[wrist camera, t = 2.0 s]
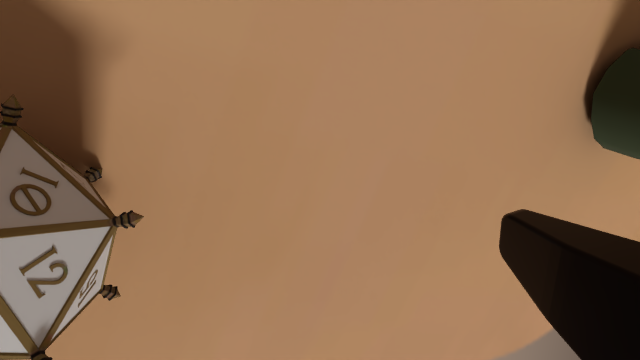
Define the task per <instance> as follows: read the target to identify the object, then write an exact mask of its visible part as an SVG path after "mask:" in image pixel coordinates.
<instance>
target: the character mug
mask: <svg viewBox="0 0 640 360" xmlns="http://www.w3.org/2000/svg"><path fill="white" fill-rule="evenodd" d="M591 122H592V128H593V134H594V139H595V140H596V141H597V142H598V143H599V144H600V145H601V146H602V147H603V148H605V149H608V150H611V151H615V152H618V153H621V154H624V155H627V156H630V157H633V158H636V159H640V50H639V49H635V48H631V49H629V50H627V51H626V52H625V53H624V54H622V55H621V56H620V57H619V58H618V59H617V60H616V61H615V62H614V63H613V64H612V65H611V66H610V67H609V68H608V69H607V71H606V73H605V74H604V76H603V78H602V79H601V81H600V83H599V85H598V86H597V88H596V90H595V92H594V93H593V103H592V114H591Z"/></svg>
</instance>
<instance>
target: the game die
mask: <svg viewBox="0 0 640 360" xmlns="http://www.w3.org/2000/svg"><path fill="white" fill-rule="evenodd" d="M1 106H2V108H3V110H2V111H1V115H2V116H3V121H2V123H0V360H7V359H31V360H52V357H48V356H47V355H45V350H46V349H47V348H48V347H49V346H50V345H51V344H52V343H53V342H54V341H55V339H56V338H57V337H58V336H59V335H60V334H61V333H62V332H63V331H64V330H65V329H66V328H67V327H68V326H69V325H70V324H71V322H72V321H73V320H74V319H75V318H76V317H77V316H78V315H79V314H80V313H81V312H82V311H83V310H84V309H85V308H86V307H87V306H88V304H89V303H90V302H91V301H92V300H93V299H94V298H95V297H96V296H97V295H98V294H102V296H103V298H108V300H109V301H110V300H111V299H113V298H117V297H120V294H119V292H118V290H117V286H116V287H112V285H104V281H105V276H106V272H107V268H108V264H109V260H110V255H111V251H112V247H113V243H114V239H115V234H116V230H117V227H124V228H126V229H127V228H128V227H130V226H132V227H133V228H134V227H135V225H136V224H137V223H138V222H139V221H140V220H141V219H142V218H143V217H144V216H142V215H139V214H137V213H134V212H133V211H132V210H131V211H130V212H128V213H126V212H123V213H122V214H121V215H120V216H115V215H114V214H113V213H112V211H111V210H110V209H109V207H108V206H107V205H106V203H105V202H104V201H103V199H102V198H101V197H100V195H99V194H98V192H97V191H96V190H95V188H94V187H93V186H92V184H91V183H92V182H94V181H97V179H99V178H102V177H101V173H102V169H99V168H92V167H90V170H89V171H86V173H85V175H84V176H83V175H82V174H81V173H79V172H78V171H77V170H75V169H74V168H73V167H71V166H70V165H69V164H67V163H66V162H65V161H63V160H62V159H61V158H59V157H58V156H57V155H55V154H54V153H53V152H51V151H50V150H49V149H47V148H46V147H45V146H43V145H42V144H41V143H39V142H38V141H37V140H35V139H34V138H33V137H31V136H30V135H29V134H27V133H26V132H25V131H23V130H22V129H21V128H19V127H18V126H17V125H16V122H17V120H18V119H19V118H21V117H22V116H21V115H20V113H21V110H23V109H24V108H21V106H20V105H19V103H18V101H17V99H16V98H15V96H14V94H13V95H12V96H11V97H10V98H9V99H8V100H7V101H6V102H5V103H4V104H1ZM90 182H91V183H90Z"/></svg>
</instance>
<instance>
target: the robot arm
mask: <svg viewBox="0 0 640 360" xmlns="http://www.w3.org/2000/svg"><path fill="white" fill-rule="evenodd" d="M499 249H500V253H501V255H502V257H503V259H504V261H505V262H506V263H507V265H508V266H509V268H510V269H511V270H512V272H513V273H514V275H515V276H516V277H517V279H518V280H519V282H520V283H521V284H522V286H523V287H524V289H525V290H526V292H527V293H528V294H529V296H530V297H531V299H532V300H533V301H534V303H535V304H536V306H537V307H538V308H539V310H540V311H541V312H542V314H543V315H544V316H545V318H546V319H547V320H548V322H549V323H550V324H551V325H552V326H553V328H554V329H555V330H556V331H557V332H558V333H559V335H560V336H561V337H562V338H563V339H564V340H565V342H566V343H567V344H568V345H569V346H570V347H571V349H572V350H573V351H574V352H575V353H576V354H577V355H578V357H579V358H580V359H581V360H640V242H638V241H634V240H631V239H627V238H624V237H620V236H617V235H613V234H610V233H606V232H603V231H599V230H596V229H592V228H589V227H585V226H582V225H578V224H575V223H571V222H568V221H564V220H561V219H557V218H554V217H550V216H547V215H543V214H540V213H536V212H533V211H529V210H525V209H521V210H517V211H514V212H511V213H508V214H506V215H504V216H503V218H502V221H501V231H500V241H499Z"/></svg>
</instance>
